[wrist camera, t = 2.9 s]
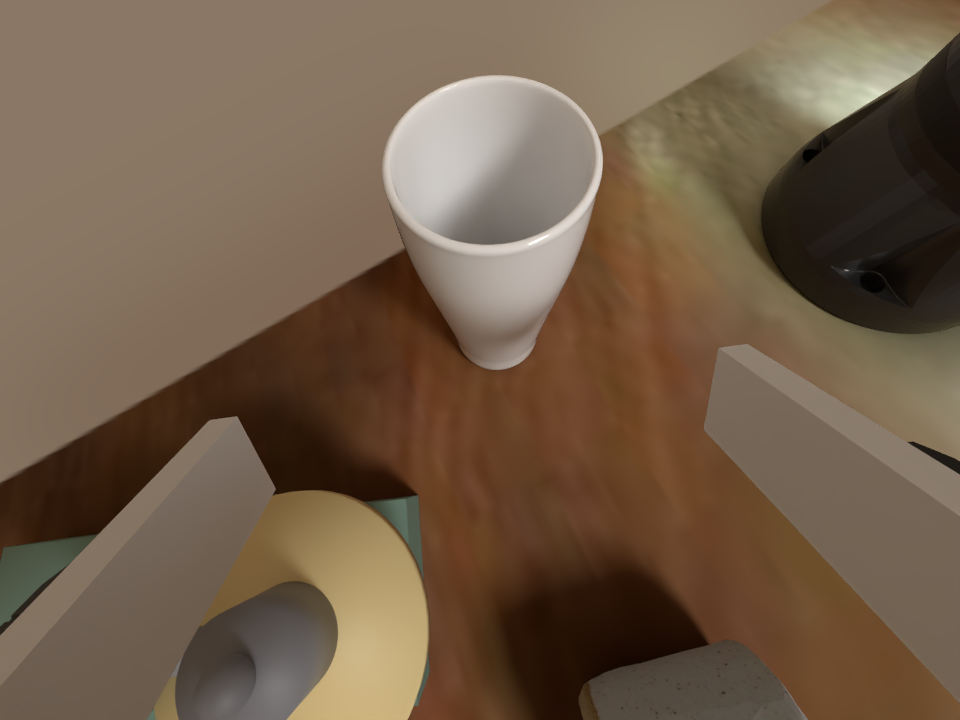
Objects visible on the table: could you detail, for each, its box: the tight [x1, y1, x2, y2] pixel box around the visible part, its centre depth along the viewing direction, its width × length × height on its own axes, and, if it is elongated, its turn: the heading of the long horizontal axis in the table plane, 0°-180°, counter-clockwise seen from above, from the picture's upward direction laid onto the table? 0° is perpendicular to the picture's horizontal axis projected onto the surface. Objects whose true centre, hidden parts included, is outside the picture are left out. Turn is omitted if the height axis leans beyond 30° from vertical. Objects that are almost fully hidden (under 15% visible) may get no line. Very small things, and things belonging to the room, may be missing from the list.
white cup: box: [382, 75, 603, 370], centre depth 18 cm, size 7×7×15 cm
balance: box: [0, 490, 430, 720], centre depth 16 cm, size 25×11×12 cm, turn 97°
